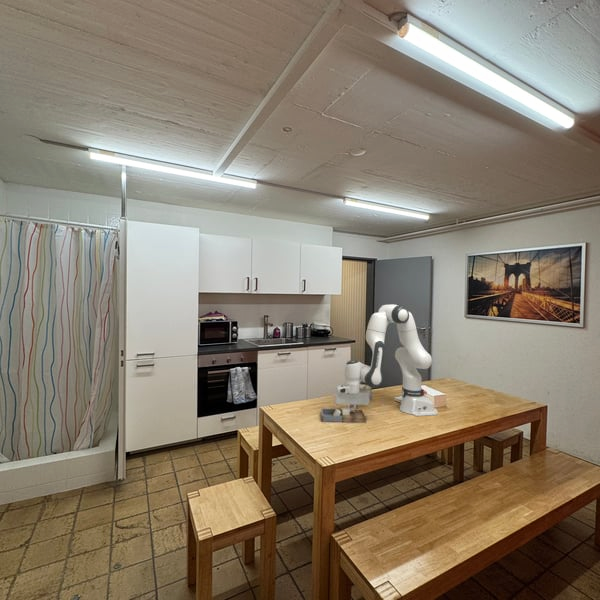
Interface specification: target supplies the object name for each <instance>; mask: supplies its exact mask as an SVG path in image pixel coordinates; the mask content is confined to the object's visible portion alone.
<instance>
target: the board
mask: <svg viewBox="0 0 600 600" xmlns="http://www.w3.org/2000/svg"><path fill="white" fill-rule="evenodd" d="M339 409H340V412H341V414H340V416H342V423H343V424H344V423H345V424H366V423H367V417H366V416H365V413H364V412H363V410H362V409H354V412H350V415H343V414H342V408H339Z"/></svg>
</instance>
